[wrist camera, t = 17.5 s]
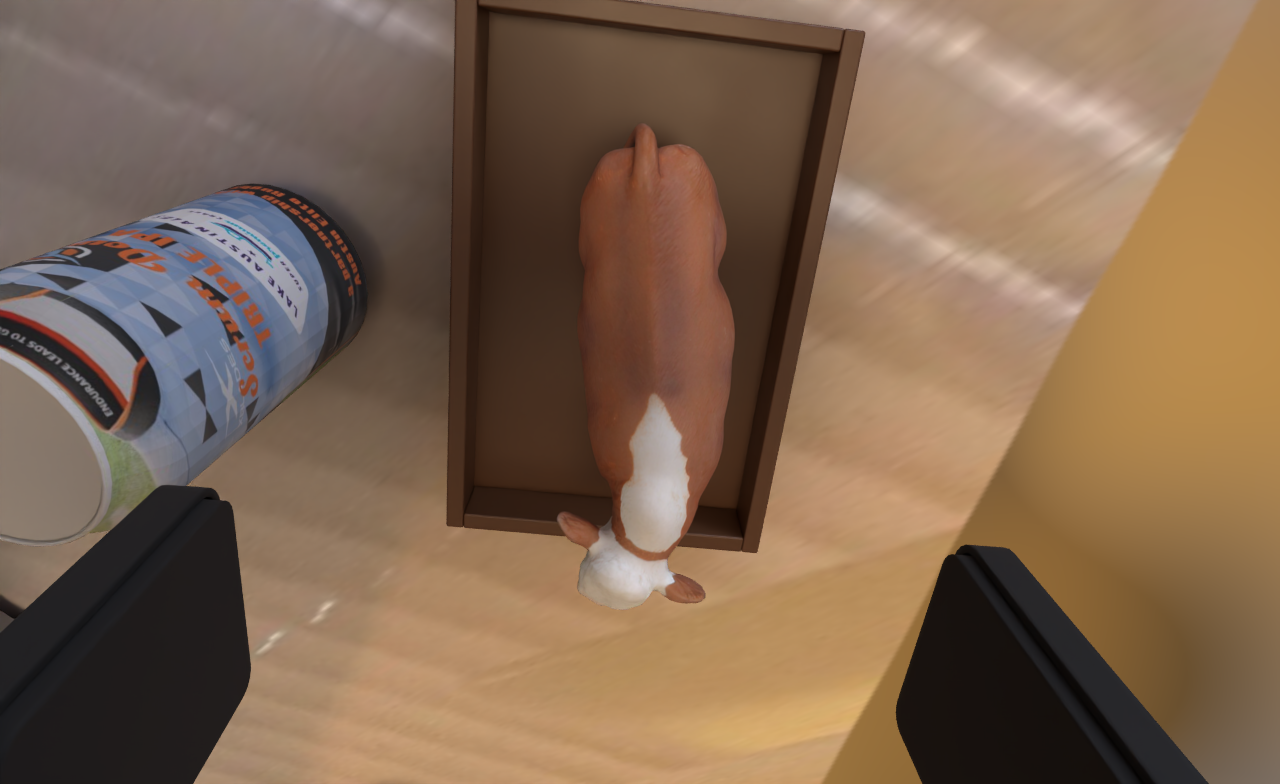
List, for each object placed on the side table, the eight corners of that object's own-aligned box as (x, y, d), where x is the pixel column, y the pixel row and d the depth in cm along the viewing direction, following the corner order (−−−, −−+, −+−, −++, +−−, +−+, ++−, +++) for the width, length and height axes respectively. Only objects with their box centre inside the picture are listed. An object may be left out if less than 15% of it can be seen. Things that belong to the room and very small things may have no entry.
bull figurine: (583, 510, 28) (544, 651, 20) (603, 125, 23) (565, 113, 16) (701, 521, 27) (708, 667, 20) (743, 136, 23) (773, 129, 16)
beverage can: (418, 277, 25) (256, 431, 14) (281, 408, 27) (45, 634, 16) (269, 132, 24) (-49, 178, 12) (132, 283, 25) (-250, 441, 14)
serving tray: (460, 490, 29) (445, 526, 26) (472, -12, 22) (455, -23, 20) (747, 516, 29) (757, 553, 27) (842, 36, 23) (866, 31, 20)
